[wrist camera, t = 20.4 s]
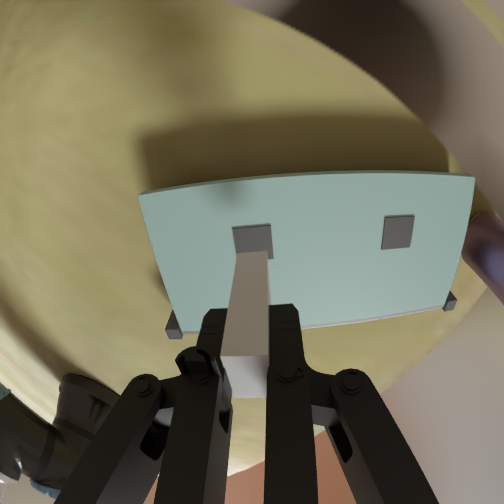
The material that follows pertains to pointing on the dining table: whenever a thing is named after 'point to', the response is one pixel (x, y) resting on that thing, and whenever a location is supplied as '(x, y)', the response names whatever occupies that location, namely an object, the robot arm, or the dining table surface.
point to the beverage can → (486, 250)
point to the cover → (313, 241)
